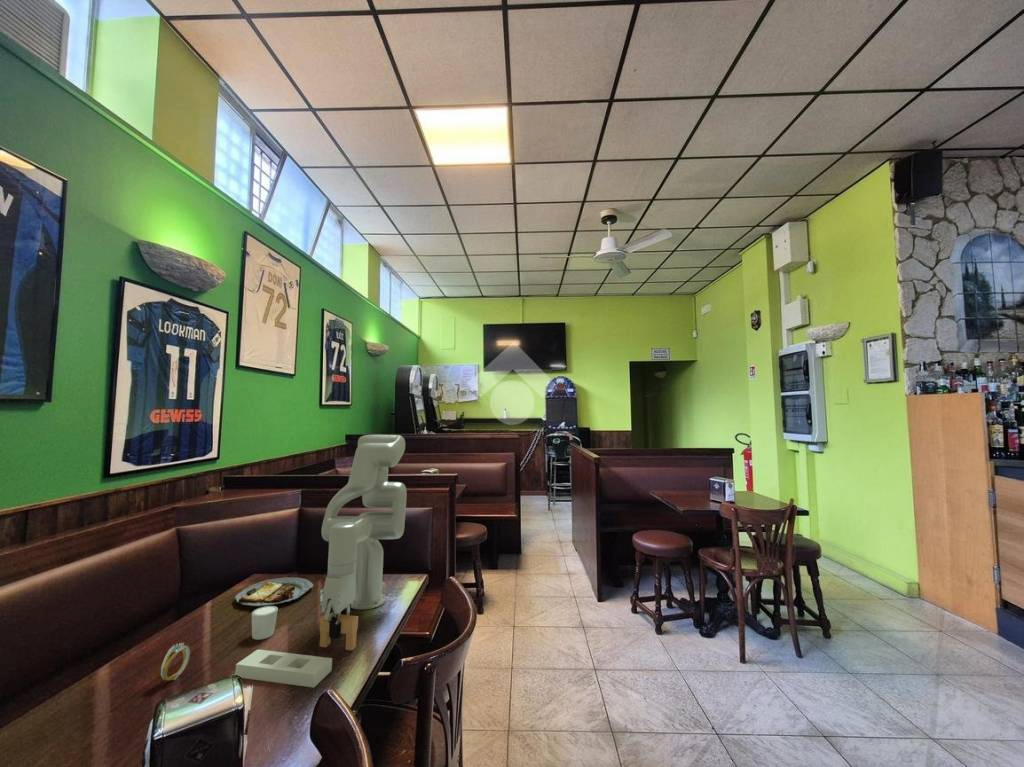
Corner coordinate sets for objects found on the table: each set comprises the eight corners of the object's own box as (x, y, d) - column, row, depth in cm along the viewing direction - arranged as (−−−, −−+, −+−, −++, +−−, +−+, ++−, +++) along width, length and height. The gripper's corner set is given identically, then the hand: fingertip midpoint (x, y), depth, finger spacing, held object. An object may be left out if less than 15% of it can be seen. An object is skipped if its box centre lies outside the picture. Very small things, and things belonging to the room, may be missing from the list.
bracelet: (181, 670, 104) (185, 637, 105) (192, 671, 103) (195, 638, 104) (154, 687, 97) (158, 651, 98) (165, 688, 97) (169, 652, 97)
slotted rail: (256, 661, 108) (257, 649, 109) (331, 670, 105) (332, 658, 105) (234, 677, 101) (236, 664, 102) (314, 687, 98) (314, 674, 98)
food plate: (285, 612, 137) (286, 601, 137) (218, 610, 138) (219, 600, 138) (321, 584, 162) (322, 575, 162) (265, 582, 163) (265, 573, 163)
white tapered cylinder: (263, 642, 118) (265, 616, 119) (243, 639, 119) (246, 614, 120) (281, 630, 125) (283, 606, 125) (262, 628, 126) (264, 604, 127)
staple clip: (325, 641, 117) (326, 612, 117) (356, 645, 115) (358, 616, 116) (318, 647, 114) (320, 617, 114) (351, 651, 112) (352, 621, 113)
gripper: (346, 557, 125) (342, 619, 123) (311, 577, 109) (307, 648, 107) (368, 558, 124) (365, 621, 122) (337, 579, 108) (333, 652, 106)
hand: (338, 633), depth 115 cm, fingers closed on staple clip, 3 cm apart
